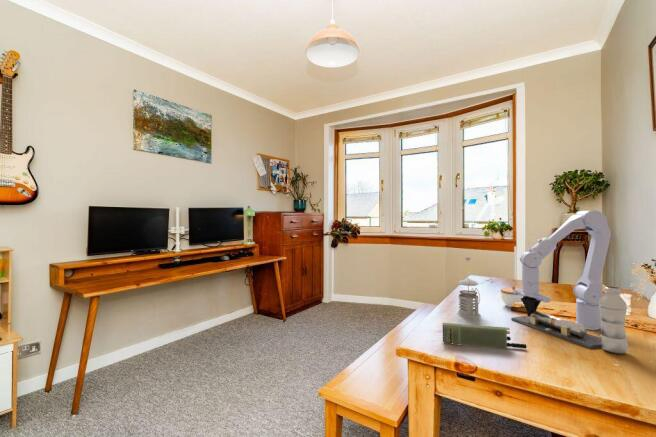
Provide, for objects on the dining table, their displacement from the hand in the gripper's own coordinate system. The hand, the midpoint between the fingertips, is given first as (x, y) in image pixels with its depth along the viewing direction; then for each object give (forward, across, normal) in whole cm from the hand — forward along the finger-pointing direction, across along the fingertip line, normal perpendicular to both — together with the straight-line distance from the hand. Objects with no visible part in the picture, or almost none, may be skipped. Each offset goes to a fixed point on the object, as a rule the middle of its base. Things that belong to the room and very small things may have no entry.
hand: (531, 316), depth 127 cm
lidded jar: (+3, -20, +12) cm, 23 cm away
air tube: (+1, +10, 0) cm, 10 cm away
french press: (+3, -16, -16) cm, 22 cm away
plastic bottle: (+3, +29, 0) cm, 29 cm away
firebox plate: (+2, +10, 0) cm, 11 cm away
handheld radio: (+3, +13, -34) cm, 37 cm away
